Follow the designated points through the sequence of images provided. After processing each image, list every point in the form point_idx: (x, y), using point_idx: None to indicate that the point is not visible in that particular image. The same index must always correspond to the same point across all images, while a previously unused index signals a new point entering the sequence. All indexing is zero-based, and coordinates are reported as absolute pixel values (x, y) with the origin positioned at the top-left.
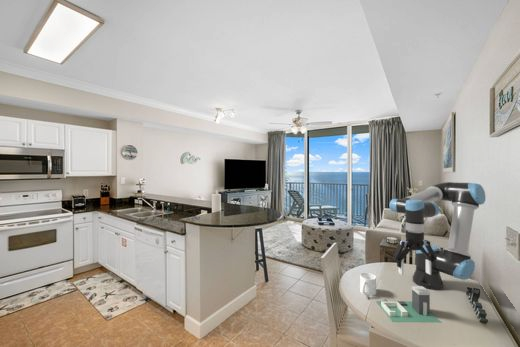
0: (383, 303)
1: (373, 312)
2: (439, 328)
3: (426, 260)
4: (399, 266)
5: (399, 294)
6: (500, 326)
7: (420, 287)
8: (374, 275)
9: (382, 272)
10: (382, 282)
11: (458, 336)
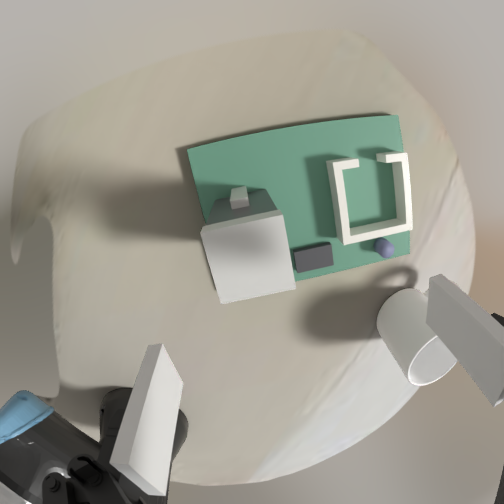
0: (410, 214)
1: (432, 184)
2: (211, 121)
3: (159, 483)
4: (498, 320)
5: (277, 341)
6: (12, 210)
7: (242, 283)
8: (408, 374)
9: (275, 448)
10: (307, 400)
11: (160, 90)
